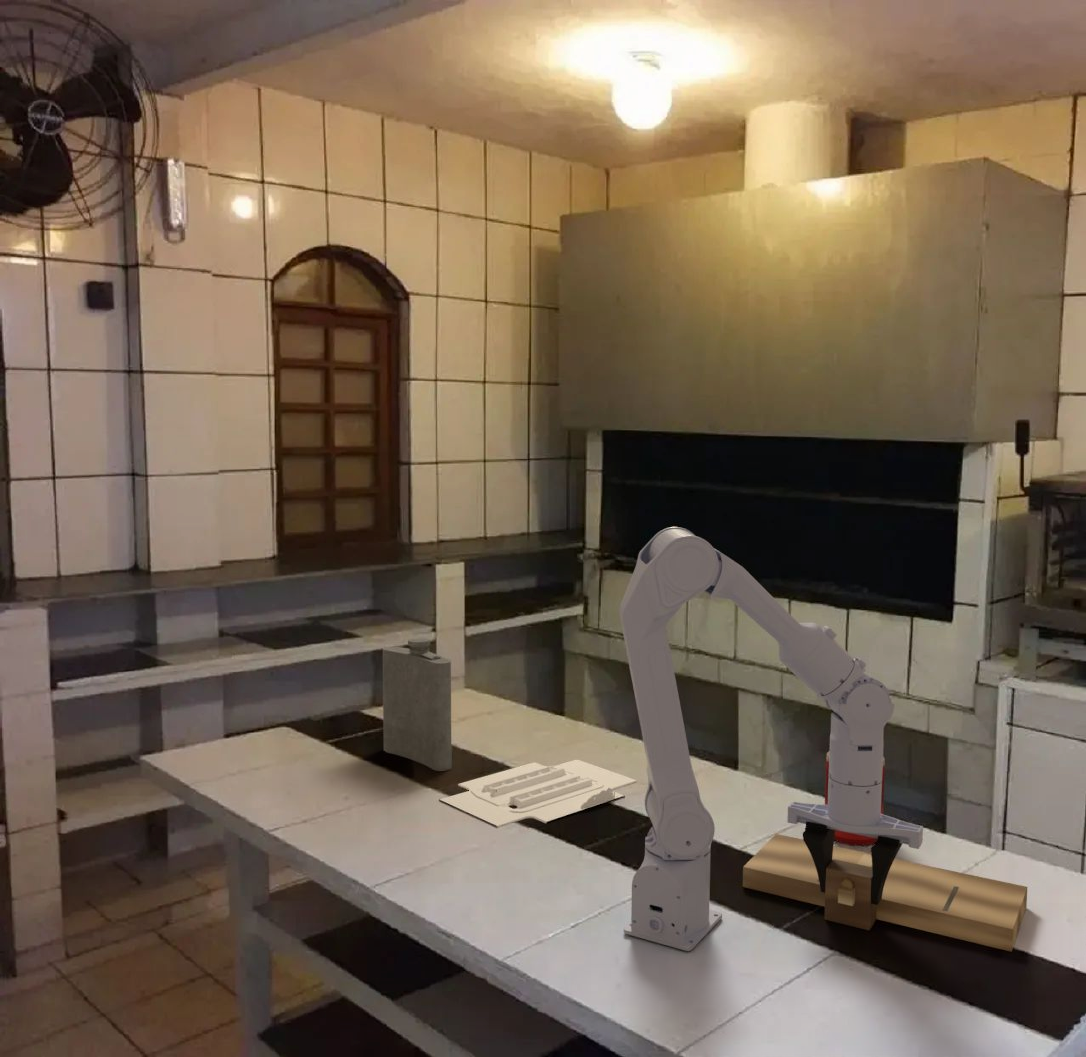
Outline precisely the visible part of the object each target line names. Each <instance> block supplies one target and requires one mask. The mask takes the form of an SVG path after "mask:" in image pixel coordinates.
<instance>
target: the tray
mask: <svg viewBox="0 0 1086 1057" xmlns="http://www.w3.org/2000/svg"><path fill="white" fill-rule="evenodd" d="M636 783H638V781H637V780H636V779H633V778H631V777H628V776H626V775H623V774H621V773H617V772H614V771H612V770H608V769H606V768H603V767H600V766H596V765H595V764H591V763H589V762H586V761H582V760H580V759H574V760H570V761H567V762H564V763H563V762H562V763H560V764H556V765H553V764H552V765H549V766H547V765H543V764H541V763H538V762H530V763H528V764H524V765H521V766H517V767H513V768H510V769H506V770H503V771H499V772H496V773H491V774H489V775H485V776H482V777H477V778H475V779H471V780H467V781H464V782H461V783H458V784H457V786H458V787H460V788H462V789H465V790H467V791H464V792H461V793H456V794H454V795H450V796H447V797H444V798H440V799H438V801H442V802H444V803H447V804H449V805H451V806H453V807H455V808H457V809H459V810H461V811H464V812H465V813H469V814H470V815H472V816H474V817H477V818H478V819H481V820H484V821H485V822H488V823H489V824H491V825H493V826H496V827H497V828H500V827H504V826H508V825H510V824H513V823H516V822H519V821H522V820H525V819H534V820H537V821H539V822H540V823H541V822H542V823H544V824H547V823H548V822H551V821H553V820H556V819H558V818H562V817H565V816H567V815H571V814H574V813H577V812H580V811H583V810H585V809H588V808H592V807H595V806H597V805H600V804H604V803H607V802H609V801H612V800H614V799H618V798H621V797H624V798H626V795H624V794H621V793H619V792H616V791H615V790H618V789H621V788H625V787H627V786H630V785H633V784H636ZM468 790H469V791H468ZM510 806H516V808H512V807H510ZM509 823H510V824H509Z"/></svg>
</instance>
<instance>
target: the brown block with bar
mask: <svg viewBox="0 0 1086 1057" xmlns="http://www.w3.org/2000/svg"><path fill="white" fill-rule="evenodd" d="M872 877H873V874H872V856H870V855H865V854H864V855H863V856H862V857H861V859H860V860H859V861H858V863H857V864H855V863H850V862H846V861H841V860H836V859H833V860H832V862H831V863H830V864H829V865H828V867H827V868H826V887H825V907H824V916H823V918H824V920H825V921H830V922H833V923H837V924H841V925H846V926H848V927H849V926H850V927H853V928H854V927H855V928H858V929H860V930H861V929H862V930H866V931H870V930H871V928H872V927H873V925H874V924H875V922H876V921H877V919H876V909H877V905H875V904H871V888H872Z"/></svg>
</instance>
